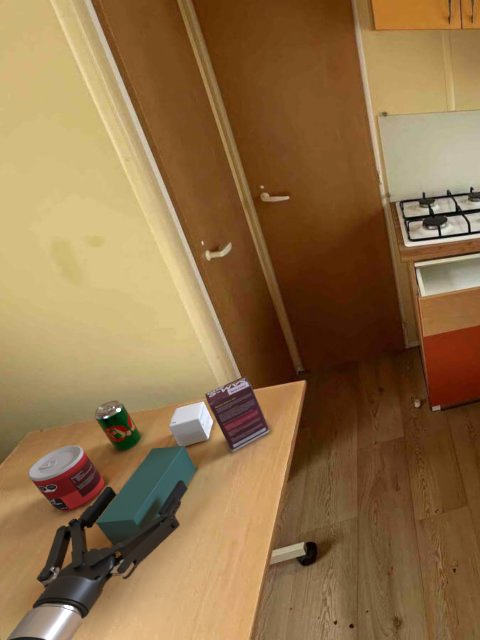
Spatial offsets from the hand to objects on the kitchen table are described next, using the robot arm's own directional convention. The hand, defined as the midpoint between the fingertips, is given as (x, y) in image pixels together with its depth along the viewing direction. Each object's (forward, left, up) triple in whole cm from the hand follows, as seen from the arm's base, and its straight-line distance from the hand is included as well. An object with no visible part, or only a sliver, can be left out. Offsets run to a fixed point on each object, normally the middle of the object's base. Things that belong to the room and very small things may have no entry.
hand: (147, 487), depth 85 cm
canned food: (-18, +4, -6) cm, 20 cm away
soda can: (-17, +17, -6) cm, 25 cm away
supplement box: (+11, +16, -6) cm, 20 cm away
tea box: (0, 0, -2) cm, 2 cm away
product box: (-2, +18, -6) cm, 19 cm away
